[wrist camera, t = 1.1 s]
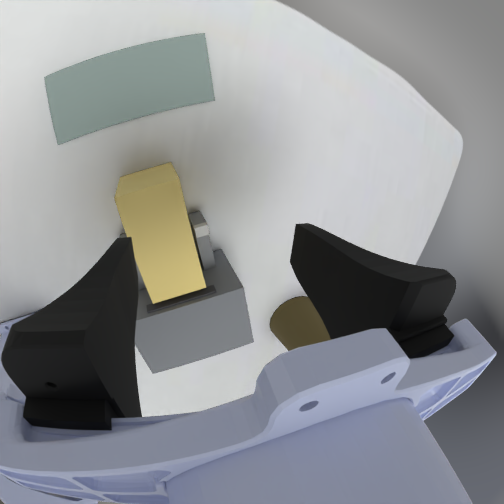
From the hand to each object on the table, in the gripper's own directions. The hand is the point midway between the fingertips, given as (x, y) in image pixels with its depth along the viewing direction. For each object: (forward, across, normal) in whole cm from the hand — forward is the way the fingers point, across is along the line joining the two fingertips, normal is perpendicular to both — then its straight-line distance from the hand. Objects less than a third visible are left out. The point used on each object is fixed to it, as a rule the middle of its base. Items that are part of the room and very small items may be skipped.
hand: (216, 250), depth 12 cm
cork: (+11, -11, +17) cm, 23 cm away
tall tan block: (+11, +3, +3) cm, 12 cm away
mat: (+12, +5, -7) cm, 14 cm away
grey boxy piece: (+11, +2, +9) cm, 14 cm away
